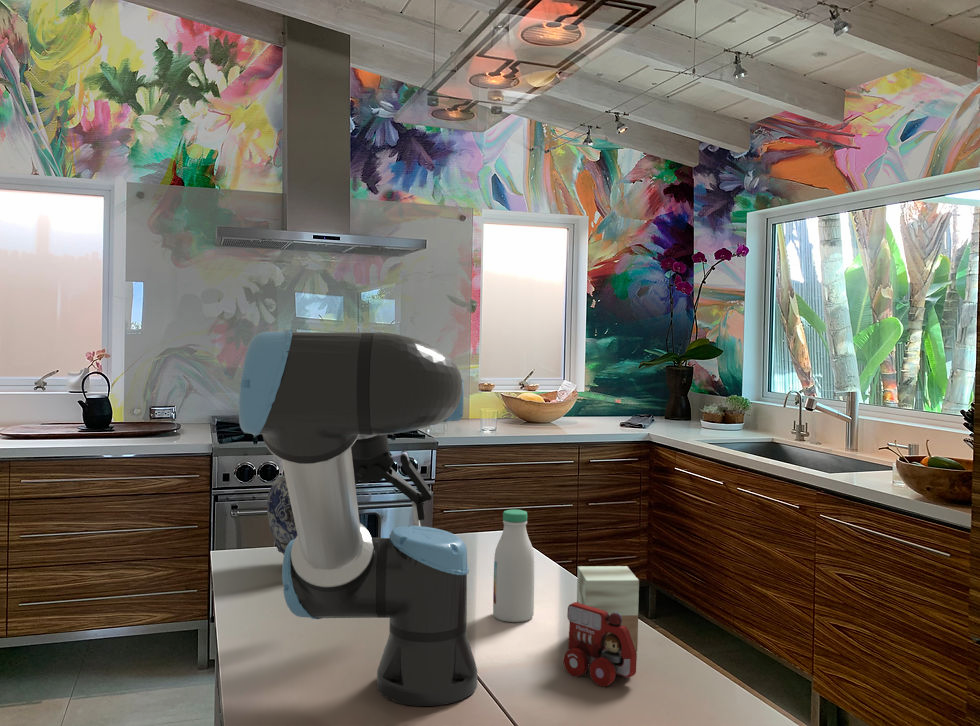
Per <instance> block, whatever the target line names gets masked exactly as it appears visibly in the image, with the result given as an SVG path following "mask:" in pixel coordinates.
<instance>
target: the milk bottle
mask: <svg viewBox="0 0 980 726" xmlns="http://www.w3.org/2000/svg"><path fill="white" fill-rule="evenodd" d="M502 523H503V531H502V534H501V536H500V538H499V539H498V542H497V545H496V547H495V552H494V558H493V559H494V560H493V588H492V589H493V594H492V595H493V598H492V599H493V600H492V601H493V602H492V607H493V608H492V613H493V616H494V618H496V619H497V620H499V621H502V622H507V623H523V622H527V621H529V620H532V618H533V617H534V613H535V611H534V610H535V552H534V548H533V545H532V543H531V540H530V538H529V535H528V531H527V524H528V511H526V510H522V509H507V510H504V511H503V512H502Z"/></svg>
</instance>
